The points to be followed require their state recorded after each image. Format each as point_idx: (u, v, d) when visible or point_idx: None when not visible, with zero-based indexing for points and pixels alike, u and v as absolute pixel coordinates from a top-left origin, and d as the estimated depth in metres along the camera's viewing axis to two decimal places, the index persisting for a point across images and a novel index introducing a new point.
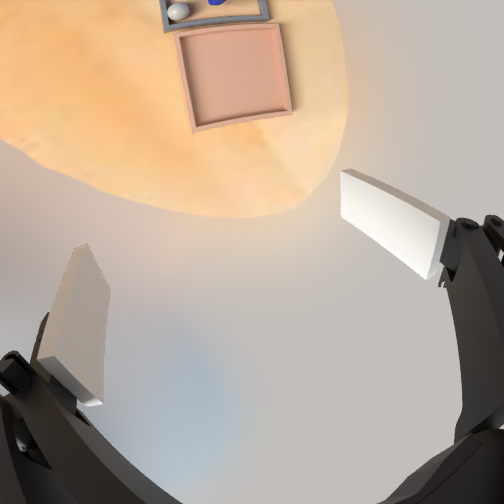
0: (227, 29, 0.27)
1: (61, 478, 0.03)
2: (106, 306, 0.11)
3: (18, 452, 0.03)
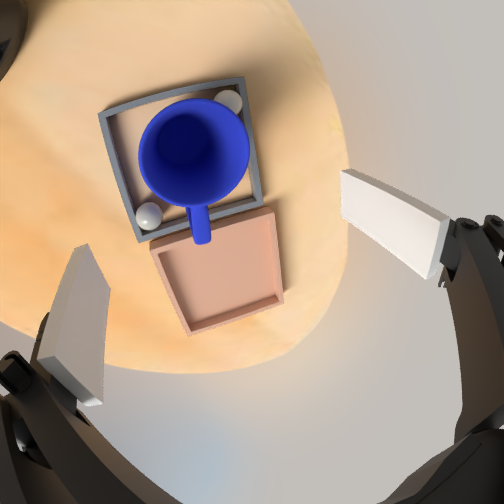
0: (212, 235, 0.31)
1: (61, 478, 0.03)
2: (106, 306, 0.11)
3: (18, 452, 0.03)
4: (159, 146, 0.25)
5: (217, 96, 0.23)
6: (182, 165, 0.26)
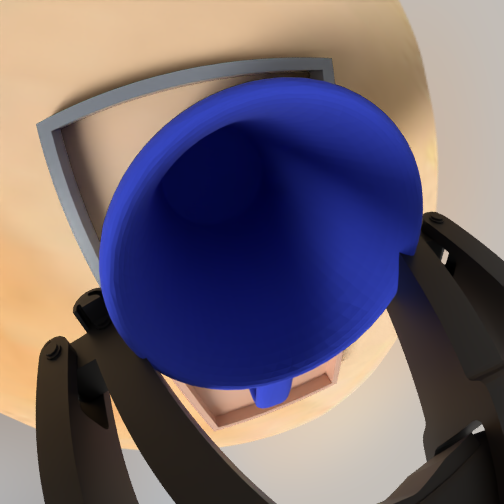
0: None
1: (125, 420, 0.04)
2: None
3: (77, 408, 0.05)
4: (164, 188, 0.13)
5: None
6: (211, 225, 0.14)
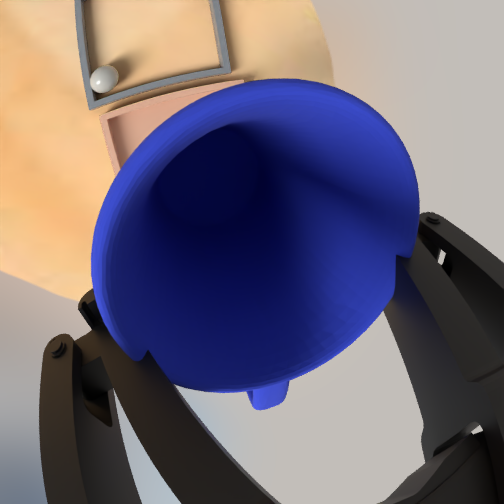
0: (170, 98, 0.23)
1: (129, 417, 0.04)
2: None
3: (82, 405, 0.05)
4: (161, 190, 0.13)
5: None
6: (208, 227, 0.14)
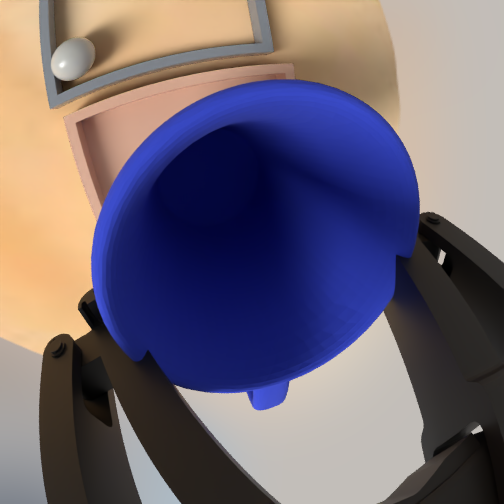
0: (178, 86, 0.14)
1: (129, 417, 0.04)
2: None
3: (81, 405, 0.05)
4: (161, 190, 0.13)
5: None
6: (208, 227, 0.14)
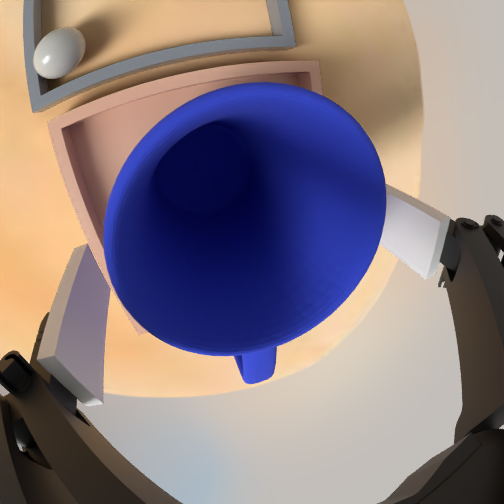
0: (184, 84, 0.11)
1: (61, 478, 0.03)
2: (106, 306, 0.11)
3: (18, 452, 0.03)
4: (160, 181, 0.14)
5: None
6: (203, 215, 0.15)
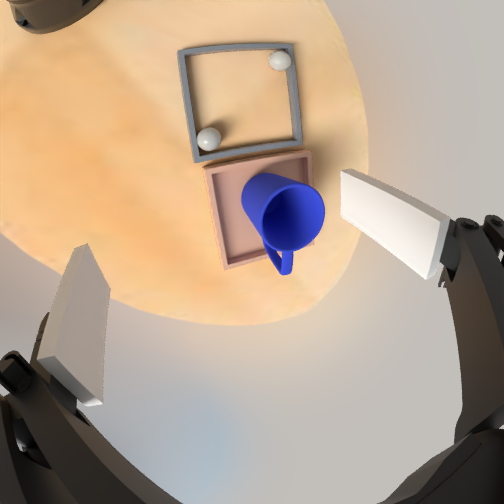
0: (260, 163, 0.34)
1: (61, 478, 0.03)
2: (106, 306, 0.11)
3: (18, 452, 0.03)
4: None
5: (273, 53, 0.27)
6: None
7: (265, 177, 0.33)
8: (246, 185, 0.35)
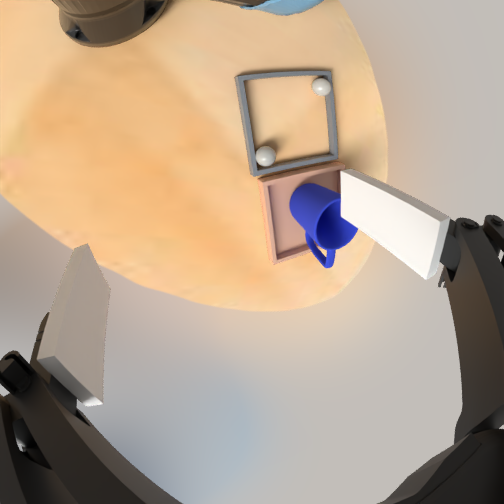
0: (305, 175, 0.41)
1: (61, 478, 0.03)
2: (106, 306, 0.11)
3: (18, 452, 0.03)
4: None
5: (317, 81, 0.33)
6: None
7: (312, 189, 0.39)
8: (295, 194, 0.41)
